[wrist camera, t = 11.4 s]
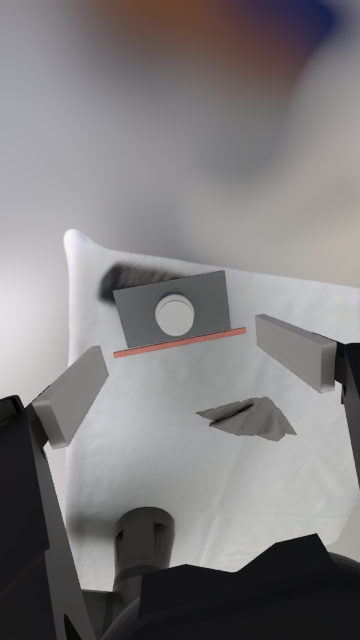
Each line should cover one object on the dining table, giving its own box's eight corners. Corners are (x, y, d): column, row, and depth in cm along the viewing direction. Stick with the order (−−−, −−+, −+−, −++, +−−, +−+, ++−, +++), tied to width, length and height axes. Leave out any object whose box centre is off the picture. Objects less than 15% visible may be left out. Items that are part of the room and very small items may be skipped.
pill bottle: (183, 286, 32) (190, 291, 22) (192, 315, 33) (203, 332, 24) (153, 296, 32) (147, 305, 22) (163, 325, 33) (162, 345, 24)
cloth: (309, 415, 43) (317, 423, 41) (276, 456, 45) (281, 466, 43) (219, 371, 38) (222, 377, 36) (187, 420, 41) (188, 428, 38)
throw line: (115, 357, 35) (114, 358, 34) (114, 352, 35) (113, 353, 34) (245, 332, 36) (246, 332, 35) (244, 327, 35) (245, 328, 35)
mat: (128, 347, 35) (128, 348, 34) (113, 290, 32) (112, 290, 31) (229, 327, 35) (230, 328, 35) (223, 270, 32) (224, 270, 32)
